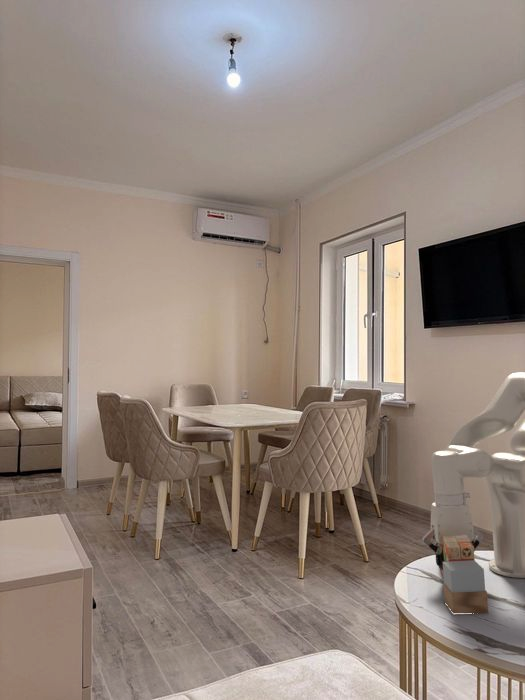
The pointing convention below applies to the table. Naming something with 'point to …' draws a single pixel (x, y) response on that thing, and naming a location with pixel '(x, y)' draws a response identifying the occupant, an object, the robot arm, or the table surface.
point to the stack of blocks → (457, 548)
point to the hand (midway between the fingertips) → (455, 566)
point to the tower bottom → (466, 601)
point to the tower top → (463, 576)
